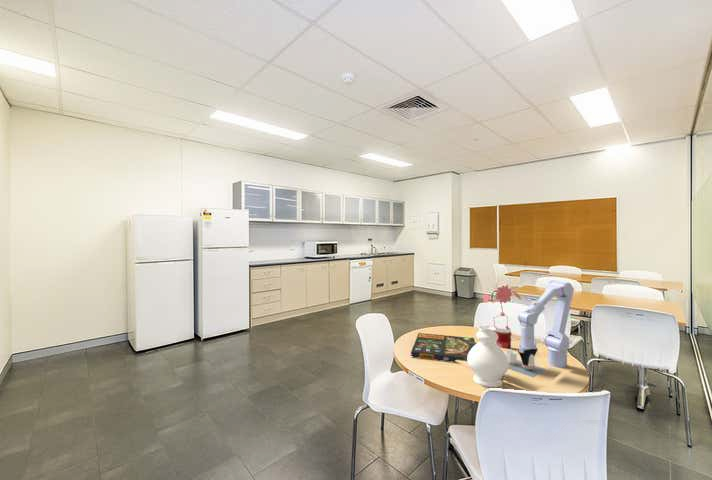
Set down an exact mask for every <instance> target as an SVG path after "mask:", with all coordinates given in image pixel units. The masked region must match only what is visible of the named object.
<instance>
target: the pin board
mask: <svg viewBox="0 0 712 480" xmlns="http://www.w3.org/2000/svg"><path fill="white" fill-rule="evenodd" d="M508 370H512V371H514V372H517V373H519V374H522V375H526V376H528V377H532V378H534V377H536V376H538V375H539V374H541V373H542V372H543V371H546V370H547V369H546V368H543V367H541V366H537V365H536V364H534V369H526V368H523V367H522V360H518V359H517V365H515V366H512V365H509V368H508Z"/></svg>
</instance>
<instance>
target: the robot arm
mask: <svg viewBox="0 0 712 480" xmlns="http://www.w3.org/2000/svg"><path fill="white" fill-rule="evenodd" d="M574 290H575V288H574V286H573V285H572V283H570V282H565V281H564V282H563V281H556V280H550V281H549V282H548V283H547V284H546V289H545V291H544V292H543V293H542V295H541V296H540V298H539V299H538V300H534V301H532V302H531V304H530V305H529V306H528V307H527V308H526V310H523V311H521V312H519V314H518V317H517V320H518V321H519V326H520V345H519V347H518V349H517V352H518V354H519V356H520V359H521V361H522V363H523V365H526V366H528V363H529V357H530V355H531V354H532V355H534V358H536V357H535V356H536V353H537V352H538V350H539V349H538V347H537V342H535V325H536V324H537V322H538V319H539V316H540V315H541V314H542V313H543V311H545V305H546V304H548V302H549V301H551V300H552V299H553V298H554V297H555V298H556V299H557V305H556V309H555V315H554V319H553V325H552V329H550V330H548V331H547V332H546V335H545V336H544V339H543V342H544V346H546V349H547V360H548V361H547V363H548V365H549V366H551V367H554V368H565V367H566V366H569V365H568V354H567V351H568V350H569V348H570V342H569V341H570V338H569V336H568V335H567V334H566V333H565V332H566V328H567V322H568V319H569V314H570V310H571V309H570V308H571V303H572V300H573V296H574Z"/></svg>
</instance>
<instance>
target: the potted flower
mask: <svg viewBox="0 0 712 480" xmlns="http://www.w3.org/2000/svg"><path fill="white" fill-rule="evenodd" d="M496 290H497V291H496V293H495V301H493V300H492V299H491V298H490V296H489V295H488V294H487V293H485V294H484V295H483V296H482V300H483V302H484V303H485V304H487V303H488V302H489V301H490V302H491V303H492V304H494V303H496V302H499V304H500V306H501V307H500V308H501V312H500V314H499V315H497V316H495V317H493V319H495V318H498V317H500V316H501V317H506V325H505V329H508V330H510V331H511V332H512V330H511V329H510V327H509V323H508V321H509V320H508V316H507V315H506V314H505V313H504V311H503V305H502V303H504V304H506V303H507V302H508V301H511V300H512V298H511V297H512V295H514V296H515V297H516V298H518V299H519V300H522V297H521V295H520V294H518V293H517V292H516V291H515V290H512V288H509V285H508V284H506V285H501V287H500V286H498V287H497V288H496ZM493 327H495V328H496V329H498V328H497V326H496V323H495V320H493ZM494 332H495V333H496V331H494ZM511 336H512V333H511ZM518 340H521V337H520V338H518Z"/></svg>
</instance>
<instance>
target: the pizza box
mask: <svg viewBox="0 0 712 480" xmlns="http://www.w3.org/2000/svg"><path fill="white" fill-rule="evenodd" d="M475 341H476V340H475V338H474V337H468V336H467V337H466V336H455V335H443V334H432V333H421V332H418V334H417V336H416V339H415V341H414V343H413V345H412V349H411V351H410V357H411V356H413V357H412V358H414V357H421V358H420V359H423V358H429V359H428V360H432V359H437V360H436V361H440V360H445V361H444V362H449V361H453V362H452V363H457V361H466V362H468V361H467V356H468V353H469V351H470V350H471V349H472V347H473V346H474V345H476V342H475Z"/></svg>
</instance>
